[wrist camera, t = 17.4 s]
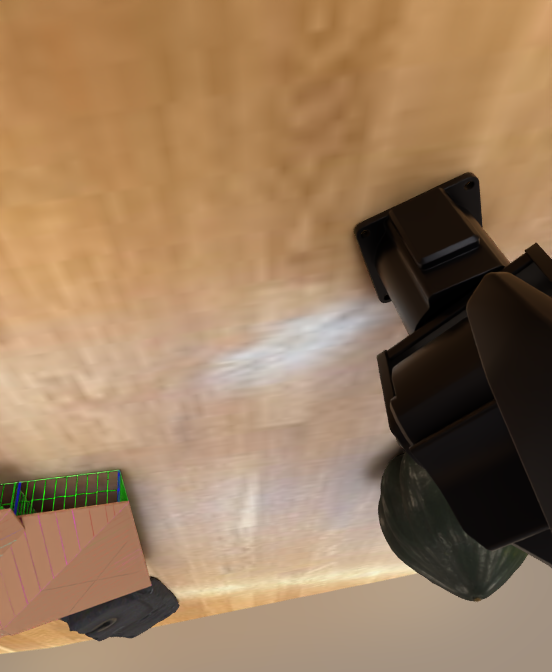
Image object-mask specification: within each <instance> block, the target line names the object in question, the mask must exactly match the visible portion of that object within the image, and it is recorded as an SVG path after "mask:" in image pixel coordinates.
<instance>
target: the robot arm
mask: <svg viewBox="0 0 552 672" xmlns="http://www.w3.org/2000/svg"><path fill="white" fill-rule="evenodd" d="M468 182H469V184H467V185H466V186H465V184H466V183H468ZM364 230H367V231H366V232H365V233H362V232H363V231H364ZM354 234H355V237H356V240H357V242H358V245H359V248H360V250H361V253H362V256H363V258H364V261H365V264H366V266H367V269H368V272H369V274H370V277H371V280H372V282H373V285H374V288H375V290H376V293H377V296H378V298H379V300H380V301H381V302H382V303H387V302H390V301H392V302H393V304H394V306H395V308H396V310H397V312H398V314H399V316H400V318H401V320H402V322H403V324H404V326H405V328H406V330H407V332H408V334H409V336H407V337H406V338H404V339H403V340H402V341H400V342H399V343H397V344H396V345H394V346H393V347H392V348H390V349H389V350H384V351H383V352H382V353H380V354H379V355H377V361H378V367H379V373H380V379H381V384H382V390H383V395H384V401H385V406H386V412H387V417H388V422H389V427H390V430H391V432H392V433H393V435H394V436H395V437H396V440H397V442H398V444H399V445H400V446H401V447H402V448H403V449H404V450H405V451H406V452H407V454H408V455H409V456H410V457H411V458H412V459H413V460H414V461H415V462H416V464H418V465H419V466H420V467H422V468H423V469H424V470H426V471H427V473H428V474H429V475H430V477H431V478H432V480H433V481H434V482H435V484H436V485H437V487H438V488H439V489H440V491H441V493H442V494H443V496H444V498H445V499H446V501H447V503H448V505H449V506H450V508H451V510H452V512H453V513H454V515H455V517H456V519H457V520H458V522H459V524H460V526H461V527H462V529H463V531H464V532H465V533H466V534H467V535H469V536H470V537H471V538H472V539H474V540H475V541H476V542H478V543H479V544H480V545H481V546H483V547H484V548H485V549H487V550H489V551H495V550H497V549H500V548H502V547H505V546H507V545H510V544H512V545H513V546H515V547H517V548H519V549H520V550H522V551H524V552H526V553H527V554H529V555H531V556H533V557H534V558H536V559H538V560H540V561H542V562H543V563H545V564H547V565H549V566H550V567H551V568H552V259H551V258H550V257H549V256H548V255H547V254H546V253H545V252H544V250H543V249H542V248H541V247H540V246H539V245H538V244H537V243H535V244H533V245H532V246H531V247H529V248H528V249H526V250H525V252H526V253H524V254H523V255H522V256H520V257H519V258H517V259H516V260H514V261H513V262H512V263H510V262H509V261H508V259H507V258H506V257H505V256H504V254H503V253H502V252H501V251H500V249H499V248H498V247H497V246H496V244H495V243H494V242H493V241H492V239H491V238H490V237H489V236H488V234H487V233H486V232H485V231H484V229H483V228H482V214H481V201H480V188H479V180H478V178H477V177H476V176H475V175H474V174H473V173H469V172H468V173H465V174H463V175H461V176H459V177H456V178H454V179H452V180H450V181H448V182H446V183H444V184H442V185H439V186H437V187H435V188H433V189H431V190H429V191H427V192H425V193H422V194H420V195H418V196H416V197H414V198H412V199H410V200H408V201H405V202H403V203H401V204H399V205H397V206H395V207H393V208H391V209H388V210H386V211H384V212H382V213H380V214H378V215H376V216H374V217H371V218H369V219H367V220H365V221H363V222H361V223H359V224H358V225H357V226H356V227H355V229H354Z"/></svg>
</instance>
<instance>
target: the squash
mask: <svg viewBox="0 0 552 672" xmlns="http://www.w3.org/2000/svg"><path fill="white" fill-rule="evenodd" d="M378 515H379V522H380V526H381V529H382V532H383V534H384V536H385V539H386V541H387V542H388V544H389V546H390V548H391V549H392V551H393V552H394V553H395V554H396V555H397V557H398V558H399V559H400V560H402V561H403V562H404V563H405V564H406V565H408V566H409V567H411V568H412V569H413V570H415V571H416V572H417V573H419V574H420V575H422V576H424V577H425V578H427V579H428V580H429V581H431V582H432V583H434V584H436V585H438V586H440V587H441V588H443V589H445V590H447V591H449V592H450V593H452V594H454V595H456V596H458V597H460V598H462V599H465V600H469V601H481V600H482V599H485V598H487V597H489V596H490V595H491V594H493V593H494V592H495V591H496V590H497V589H499V588H500V587H501V586H502V585H503V584H504V583H505V582H506V581H507V580H508V579H509V578H510V577H511V575H512V574H513V573H514V572H515V571H516V570H517V569H518V568H519V567H520V566H521V564H522V563H523V561H524V560H525V558H526V557H527V555H528V554H527V553H526V552H524V551H522V550H520V549H519V548H517V547H515V546H513V545H512V544H510V545H507V546H505V547H502V548H500V549H497V550H495V551H489V550H487V549H485V548H484V547H483V546H481V545H480V544H479V543H478V542H476V541H475V540H474V539H472V538H471V537H470V536H469V535H467V534H466V533H465V532H464V531H463V529H462V527H461V526H460V524H459V522H458V520H457V519H456V517H455V515H454V513H453V512H452V510H451V508H450V506H449V505H448V503H447V501H446V499H445V498H444V496H443V494H442V493H441V491H440V489H439V488H438V487H437V485H436V484H435V482H434V481H433V480H432V478H431V477H430V475H429V474H428V473H427V471H426V470H424V469H423V468H422V467H420V466H419V465H418V464H416V462H415V461H414V460H413V459H412V458H411V457H410V456H409V455H408V454H407V452H405V453H404V454H402V455H399V456H397V457H395V458H394V459H392V460H391V461H390V462H389V463H388V465H387V467H386V469H385V471H384V474H383V476H382V480H381V495H380V500H379V505H378Z"/></svg>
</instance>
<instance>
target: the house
mask: <svg viewBox="0 0 552 672" xmlns="http://www.w3.org/2000/svg"><path fill="white" fill-rule="evenodd" d="M114 471H118V489H117V490H109V491H117V502H115V503H108V492H109V491H108V482H107V490H105V491H107V503H108V504H100V505H97V496H96V505H93V506H86V503H85V507H78V508H75V507H74V508H71V509H65V499H66V497H71V496H75V506H76V495H82V494H86V502H87V494H94V493H98V492H105V491H98V477H97V492H94V493H87V488H86V493H82V494H77V483H76V495H71V496H66V489H65V496H59V497H65V499H64V509H63V510H56V511H53V510H54V501H55V498H59V497H55V492H56V484H57V478H65V477H67V478H68V477H73V476H77V482H78V476H81V475H87V487H88V475H89V474H99V473H106V472H108V477H109V472H114ZM67 478H66V488H67ZM48 479H56V483H55V492H54V498H48V499H54V501H53V510H52V511H49V512H42V511H43V503H44V500H48V499H44V495H45V487H46V480H48ZM40 480H45V487H44V495H43V499H36V500H43V502H42V510H41V513H36V512H35V510H34V509H33V507H32V504H33V501H36V500H33V497H34V490H35V483H36V481H40ZM32 481H35V482H34V489H33V496H32V501H28V500H27V498H26V496H27V489H28V483H29V482H32ZM24 482H27V488H26V495H24V494H23V493H22V491H21V490H20V488H21V483H24ZM16 483H19V484H18V485H17V484H16ZM7 484H14V487H13V493H12V499H11V503H9V504H2V505H1V502H2V497H3V492H4V486H5V485H7ZM0 485H3V490H2V496H1V501H0V637H3V636H6V635H12V636H13V635H15V634H18V633H21V632H24V631H26V630H29V629H32V628H35V627H38V626H40V625H43V624H46V623H49V622H52V621H54V620H57V619H60V618H63V617H65V616H68V615H71V614H74V613H77V612H79V611H82V610H85V609H88V608H91V607H93V606H96V605H99V604H102V603H105V602H107V601H110V600H113V599H116V598H119V597H121V596H124V595H127V594H130V593H132V592H135V591H138V590H141V589H144V588H146V587H149V586H152V584H151V581H150V577H149V573H148V570H147V566H146V562H145V559H144V555H143V551H142V548H141V544H140V540H139V537H138V533H137V529H136V526H135V522H134V518H133V515H132V511H131V507H130V504H129V501H128V497H127V493H126V490H125V486H124V482H123V479H122V475H121V471H120V470H113V471H104V472H96V473H88V474H80V475H71V476H63V477H55V478H47V479H38V480H30V481H22V482H14V483H5V484H0ZM16 487H17V491H16V497H15V503H13V501H14V495H15V489H16ZM21 494H22V501H20V498H21ZM24 499H25V501H23V500H24ZM23 502H24V508H23V514H22V515H21V513H22V507H23ZM26 502H27V503H28V504H27V511H26V515H24V514H25V508H26ZM29 502H32V503H31V504H30V503H29ZM20 503H21V508H20V513H19V512H18V511H19V505H20ZM10 504H11V505H10ZM13 504H14V506H13ZM3 505H10V508H9V509H4V507H3ZM29 506H30V511H29V514H28V508H29ZM12 507H13V508H14V509H13V511H12ZM31 511H32V514H31ZM18 515H19V516H18Z"/></svg>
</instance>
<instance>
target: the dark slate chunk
mask: <svg viewBox="0 0 552 672" xmlns="http://www.w3.org/2000/svg"><path fill="white" fill-rule="evenodd" d="M150 581H151V584H152V586H149V587H146V588H144V589H141V590H138V591H135V592H132V593H130V594H127V595H124V596H121V597H119V598H116V599H113V600H110V601H107V602H105V603H102V604H99V605H96V606H93V607H91V608H88V609H85V610H82V611H79V612H77V613H74V614H71V615H68V616H65V617H63V618H60V620H62V621H64V622H67V623H68V625H69V628H70V631H77V632H78V633H79V634H85V635H86V636H88V637H91V638H93V639H95V640H98V641H102V640H104V639H106V638H108V637H126V638H134V637H136V636H138V635H139V634H141V633H143V632H145V631H146V630H148V629H149V628H151V627H152V626H154V625H155V624H156V623H158V622H160V621H162V620H164V619H165V618H167V617H169V616H170V615H171V614H172V613H175V612H176V610H177V609H178V608H179V604H178V602H177V599H176V597H174V595H173V593H171V591H170V590H168V589H167V588H166V587H165V586H164V585H163V584H162V583H161V582H160V581H159V580H157V579H155V578H150Z"/></svg>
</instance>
